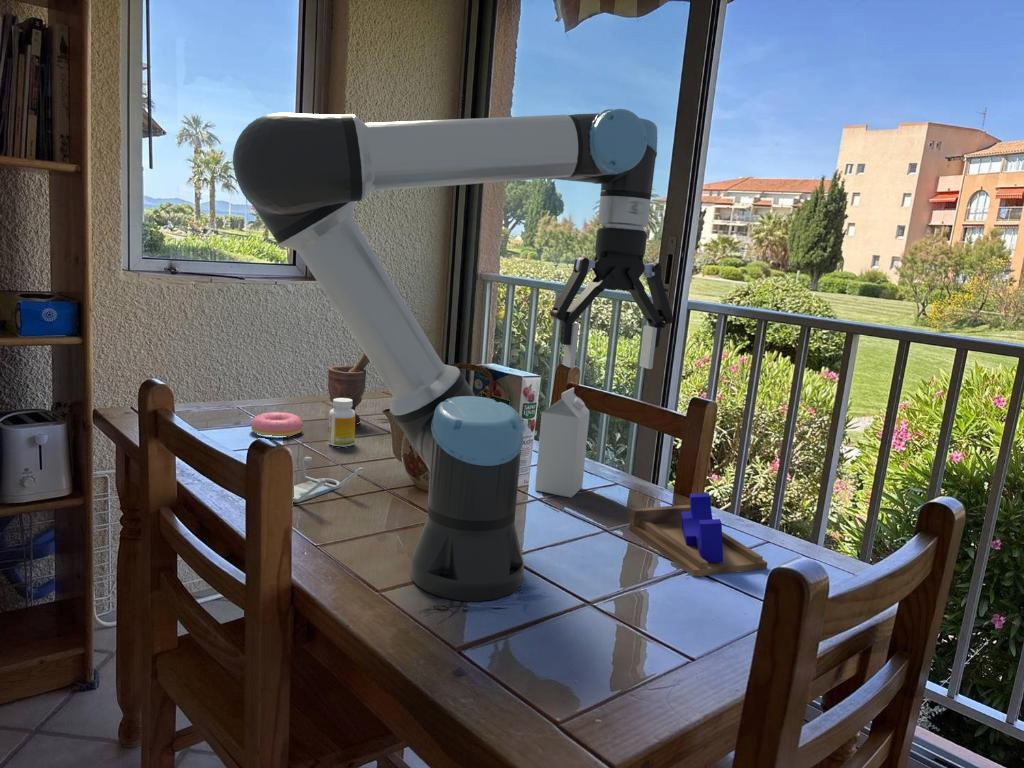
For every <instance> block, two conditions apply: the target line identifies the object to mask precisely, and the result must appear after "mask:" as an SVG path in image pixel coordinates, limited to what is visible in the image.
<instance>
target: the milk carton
mask: <svg viewBox="0 0 1024 768" xmlns="http://www.w3.org/2000/svg"><path fill="white" fill-rule="evenodd" d="M560 394H561V396H560V397H561V398H560V399H559V400H557V401H556V402H555V403H553V404H551V405H550V406H549V407H547V408H546V409H544V410H543V411H541V418H540V425H539V426H540V427H539V428H540V429H539V440H538V441H539V442H538V449H537V450H538V451H537V461H536V472H535V482H534V483H535V485H534V491H537V492H540V493H541V492H542V493H546V494H549V495H556V496H561V497H567V498H571V499H572V498H573V497H574V496H575V495H576V494H577V493H578V492H579V491H580V490H581V489H582V488H583V483H584V475H585V474H584V473H585V462H586V453H587V452H586V451H587V444H588V443H587V442H588V441H587V440H588V435H589V433H588V432H589V423H590V414H591V413H590V410H589V409H588V408H587V406H586V405H585V402H584V401H583V400H582V398H580V397H578V396H577V395H576V394H575V387H571V388H569V389H567V390H565V391H563V392H562V393H560Z"/></svg>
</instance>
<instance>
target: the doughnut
mask: <svg viewBox="0 0 1024 768" xmlns="http://www.w3.org/2000/svg"><path fill="white" fill-rule="evenodd" d="M251 419H252V420H251V421H250V424H249V425H250V426H251V431H252V432H253V431H254V432H256V433H258V434H261V435H272V436H290V435H295V434H297V433H299V434H300V433H301V431H302V430H303V427H304V421H303V419H302V418H301V416H298V415H296V414H294V413H290V412H284V411H283V412H281V411H272V412H264V413H260V414H257V415H256V416H254V417H253V418H251ZM254 432H253V433H254ZM297 435H298V434H297Z"/></svg>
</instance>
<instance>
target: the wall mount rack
mask: <svg viewBox="0 0 1024 768" xmlns="http://www.w3.org/2000/svg"><path fill="white" fill-rule="evenodd" d="M301 461H302V462H301V463H302V464H301V465H302V477H303V478H304V480H308V481H305V482H301V483H299V484H295V485H293V486H294V497H293V499H294V503H296V504H297V503H300V502H303V501H306V500H309V499H313V498H315V497H319V496H321V495H324V494H327V493H329V492H331V491H333V490H337V489H339V488H340V487H342V486H343V485H345V484H347V482H349V481H351V480H352V479H353V478H354V477H355V476H359V475H360V474H362V473H363V472H364V468H363V467H359V468H358V469H356V470H355V471H354V472H353V473H352V474H350V475H349V476H348V477H347V478H345V479H344V480H342V481H341V482H340V481H338V480H336V479H333V478H327V477H326V478H323V477H322V478H313V477H310V476H307V463H306V462H311V461H313V458H312V457H310V456H305V457H303V459H302V460H301ZM331 483H333V484H331ZM334 484H336V485H334Z"/></svg>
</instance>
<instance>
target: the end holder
mask: <svg viewBox="0 0 1024 768" xmlns="http://www.w3.org/2000/svg"><path fill="white" fill-rule="evenodd" d="M681 512H690V504H680V505H667V506H664V505H663V506H650V507H636V508H631V510H630V517H629V518H630V519H629V527H628V530H630V531H631V532H633V533H634V534H635V535H637V536H638V537H639V538H641V539H642V540H643V541H645V542H646V543H647V544H649V545H650V546H651V547H653V548H654V549H655V550H657V551H658V552H659V553H660V554H662V555H663V556H665V557H666V558H667V559H669V560H670V561H672V563H674V564H675V565H676V566H678V567H679V568H680V569H682V570H683V571H685V572H687V574H689V576H691V577H694V578H695V577H704V576H713V575H714V576H715V575H721V574H722V575H723V574H731V573H740V572H742V573H743V572H749V571H759V570H767V567H768V562H767V561H765V560H764V559H763V556H762V555H760V554H759V553H757V552H756V551H754V550H753V549H750V547H748V546H746V545H745V544H743V543H742V542H739V541H738V540H736V539H734V538H733V537H732V536H730V535H728V534H727V533H725V532H723V531H722V543H723V562H707V561H706V560H704V559H703V558H701V557H700V554H699V551H698V548H697V545H686V542H685V539H684V535H683V532H682V522H681Z"/></svg>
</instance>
